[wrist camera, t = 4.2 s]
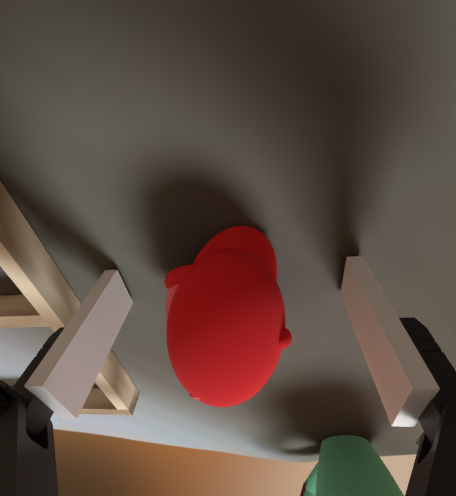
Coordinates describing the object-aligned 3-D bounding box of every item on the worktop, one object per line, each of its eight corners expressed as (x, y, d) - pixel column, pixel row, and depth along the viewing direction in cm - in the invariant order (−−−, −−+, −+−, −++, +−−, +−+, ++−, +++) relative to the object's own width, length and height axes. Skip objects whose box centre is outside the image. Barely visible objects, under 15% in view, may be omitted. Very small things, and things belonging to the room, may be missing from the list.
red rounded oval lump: (267, 384, 15) (339, 409, 10) (161, 404, 13) (179, 449, 8) (249, 254, 17) (299, 215, 12) (158, 254, 16) (170, 208, 10)
